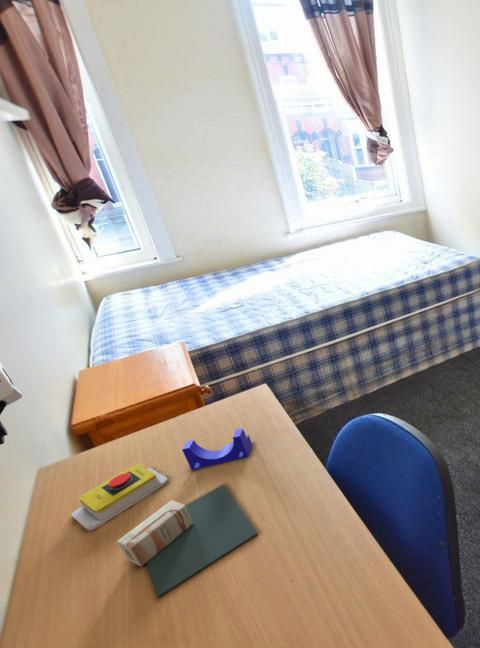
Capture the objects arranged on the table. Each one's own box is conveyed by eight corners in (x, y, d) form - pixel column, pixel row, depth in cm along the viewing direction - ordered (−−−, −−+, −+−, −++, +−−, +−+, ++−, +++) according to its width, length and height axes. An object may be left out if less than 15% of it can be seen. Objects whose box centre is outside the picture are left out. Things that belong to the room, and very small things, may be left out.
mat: (158, 597, 78) (158, 596, 78) (135, 534, 91) (134, 533, 91) (257, 534, 88) (257, 532, 88) (224, 485, 101) (223, 484, 101)
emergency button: (162, 465, 103) (79, 515, 91) (170, 481, 104) (89, 532, 93) (142, 454, 107) (61, 500, 96) (150, 469, 109) (71, 516, 97)
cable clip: (252, 444, 114) (244, 424, 111) (248, 456, 110) (239, 436, 107) (198, 457, 111) (189, 437, 109) (191, 470, 107) (181, 449, 105)
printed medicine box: (130, 548, 81) (185, 504, 90) (115, 541, 83) (170, 498, 91) (143, 568, 83) (195, 523, 92) (127, 561, 85) (180, 517, 93)
